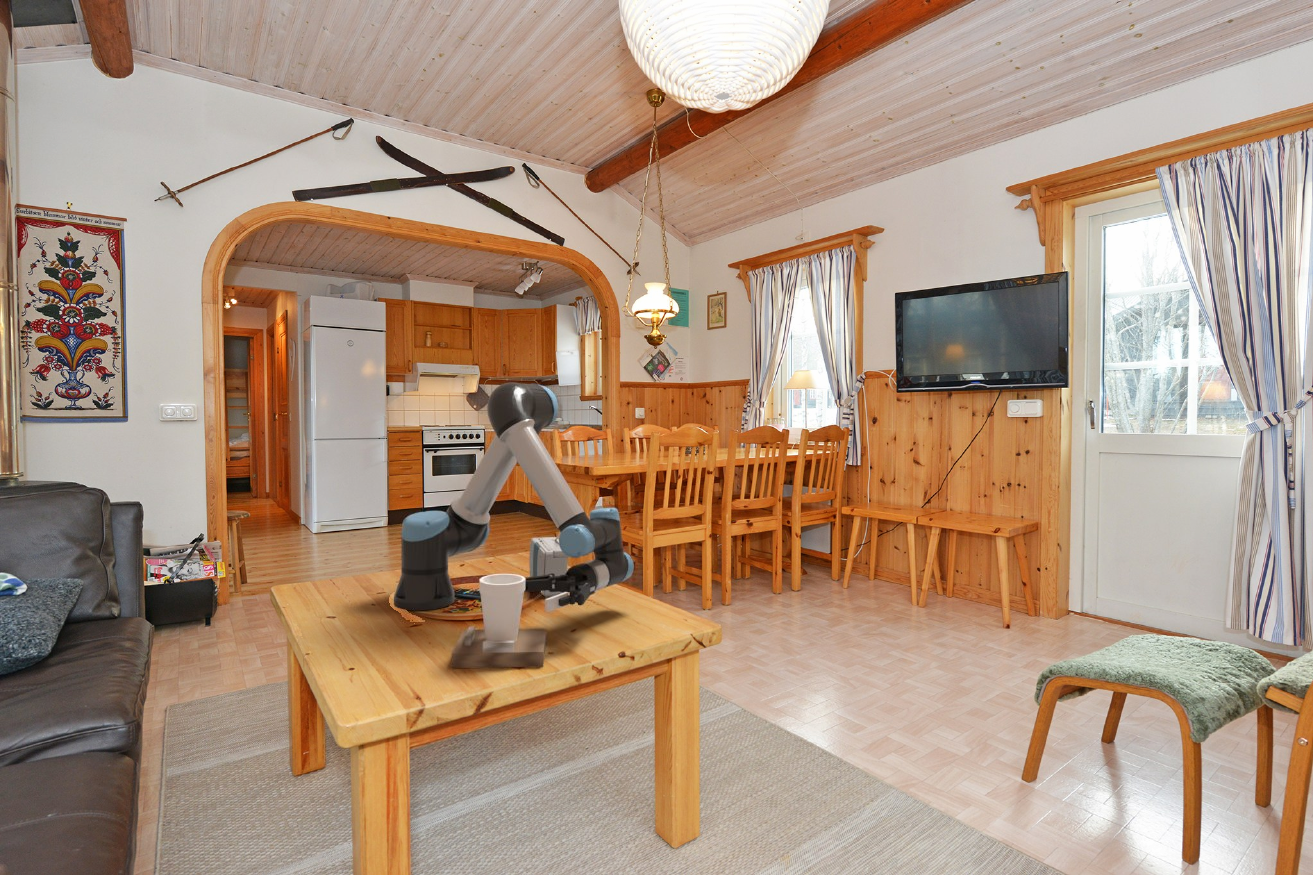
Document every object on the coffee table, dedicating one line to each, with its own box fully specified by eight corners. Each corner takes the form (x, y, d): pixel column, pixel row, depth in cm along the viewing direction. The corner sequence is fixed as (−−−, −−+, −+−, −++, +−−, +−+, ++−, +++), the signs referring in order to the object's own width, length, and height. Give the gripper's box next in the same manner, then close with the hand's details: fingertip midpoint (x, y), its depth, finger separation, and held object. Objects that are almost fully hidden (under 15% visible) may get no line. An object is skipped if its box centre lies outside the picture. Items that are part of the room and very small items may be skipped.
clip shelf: (451, 668, 136) (451, 643, 135) (463, 643, 150) (463, 620, 150) (543, 666, 138) (543, 642, 138) (546, 642, 152) (546, 620, 152)
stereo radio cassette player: (528, 580, 206) (529, 514, 205) (555, 579, 208) (556, 513, 208) (540, 599, 186) (542, 526, 185) (570, 597, 189) (572, 525, 188)
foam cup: (533, 640, 144) (534, 579, 144) (495, 651, 137) (497, 587, 137) (506, 629, 150) (507, 571, 150) (469, 639, 144) (470, 578, 143)
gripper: (627, 602, 159) (566, 628, 142) (548, 584, 173) (484, 606, 155) (627, 571, 159) (566, 593, 141) (548, 555, 172) (483, 573, 155)
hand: (523, 600), depth 148 cm, fingers open, 13 cm apart
